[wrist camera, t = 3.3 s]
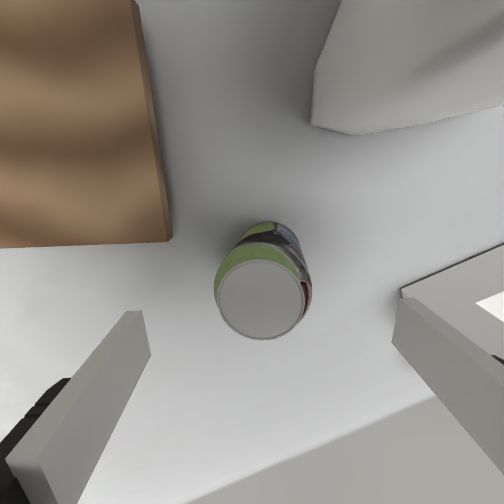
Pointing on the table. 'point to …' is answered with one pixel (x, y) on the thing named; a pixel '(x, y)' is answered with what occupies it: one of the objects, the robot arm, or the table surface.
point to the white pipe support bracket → (469, 299)
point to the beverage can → (264, 283)
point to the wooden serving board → (77, 127)
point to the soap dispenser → (408, 64)
